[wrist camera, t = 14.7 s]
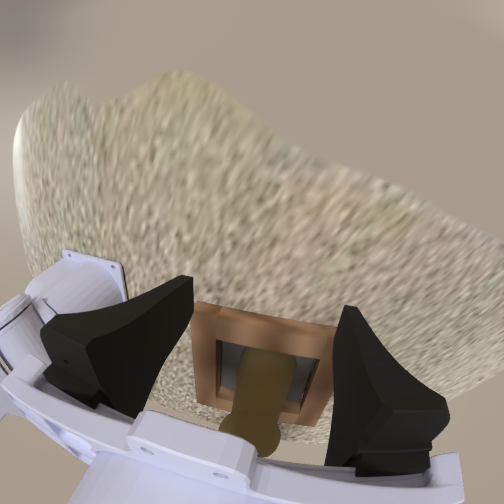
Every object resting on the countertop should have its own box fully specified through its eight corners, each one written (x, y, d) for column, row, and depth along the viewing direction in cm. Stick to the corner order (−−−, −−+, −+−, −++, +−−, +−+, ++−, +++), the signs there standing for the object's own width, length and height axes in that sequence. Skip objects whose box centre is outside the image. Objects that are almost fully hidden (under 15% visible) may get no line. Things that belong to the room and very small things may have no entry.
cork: (286, 385, 29) (269, 470, 20) (235, 370, 30) (204, 452, 20) (305, 351, 27) (292, 448, 17) (247, 334, 27) (213, 426, 17)
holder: (202, 391, 34) (197, 402, 32) (197, 300, 27) (189, 312, 25) (315, 414, 31) (314, 426, 30) (352, 329, 25) (354, 343, 23)
